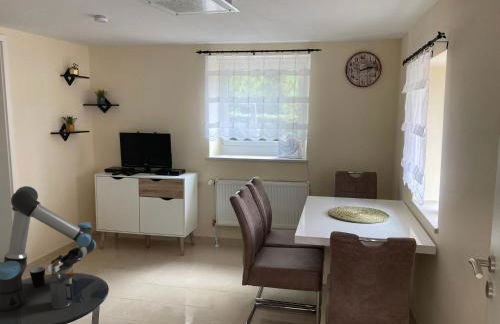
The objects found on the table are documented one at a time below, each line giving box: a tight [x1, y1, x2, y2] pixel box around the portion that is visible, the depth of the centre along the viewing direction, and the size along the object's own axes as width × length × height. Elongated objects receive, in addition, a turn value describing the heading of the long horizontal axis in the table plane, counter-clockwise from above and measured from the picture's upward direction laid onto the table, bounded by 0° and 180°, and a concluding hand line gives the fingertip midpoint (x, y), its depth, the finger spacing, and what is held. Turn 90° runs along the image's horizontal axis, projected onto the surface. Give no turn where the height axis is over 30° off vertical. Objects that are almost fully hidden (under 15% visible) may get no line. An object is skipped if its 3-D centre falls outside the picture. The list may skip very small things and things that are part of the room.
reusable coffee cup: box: [50, 262, 74, 284], centre depth 255 cm, size 12×13×15 cm
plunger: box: [54, 260, 62, 278], centre depth 230 cm, size 7×7×22 cm
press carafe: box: [44, 273, 75, 310], centre depth 230 cm, size 13×10×16 cm
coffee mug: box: [29, 266, 46, 288], centre depth 258 cm, size 12×9×10 cm
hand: (51, 269), depth 223 cm, fingers closed on plunger, 4 cm apart
